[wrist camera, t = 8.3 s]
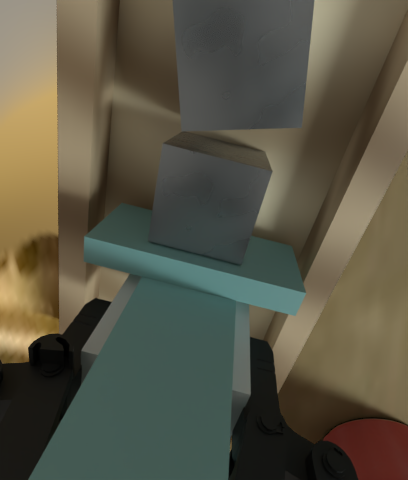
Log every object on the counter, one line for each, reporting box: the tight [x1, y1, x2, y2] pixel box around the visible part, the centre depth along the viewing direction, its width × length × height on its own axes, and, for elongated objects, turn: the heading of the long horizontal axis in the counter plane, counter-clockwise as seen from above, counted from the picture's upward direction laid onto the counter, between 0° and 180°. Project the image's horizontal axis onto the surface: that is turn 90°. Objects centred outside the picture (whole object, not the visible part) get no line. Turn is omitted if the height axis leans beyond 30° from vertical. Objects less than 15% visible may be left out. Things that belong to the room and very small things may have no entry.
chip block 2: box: [148, 131, 273, 265], centre depth 13 cm, size 4×4×4 cm
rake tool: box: [28, 203, 306, 480], centre depth 11 cm, size 5×9×12 cm, turn 78°
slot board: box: [57, 0, 408, 393], centre depth 16 cm, size 22×14×3 cm, turn 167°
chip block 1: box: [173, 0, 314, 131], centre depth 11 cm, size 4×4×4 cm
